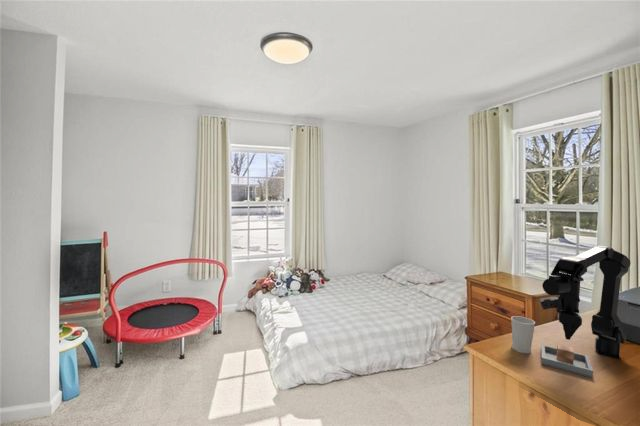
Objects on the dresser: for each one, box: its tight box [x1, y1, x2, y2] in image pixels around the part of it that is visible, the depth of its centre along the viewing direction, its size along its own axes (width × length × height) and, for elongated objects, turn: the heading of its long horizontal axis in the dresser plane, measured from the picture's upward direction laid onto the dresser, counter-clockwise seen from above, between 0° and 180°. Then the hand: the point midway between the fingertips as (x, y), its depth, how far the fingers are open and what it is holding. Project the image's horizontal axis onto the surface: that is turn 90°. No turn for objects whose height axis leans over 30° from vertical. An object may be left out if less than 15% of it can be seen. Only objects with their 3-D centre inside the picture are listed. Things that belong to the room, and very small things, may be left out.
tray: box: [540, 343, 594, 379], centre depth 112 cm, size 14×13×2 cm
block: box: [556, 343, 575, 364], centre depth 112 cm, size 4×4×5 cm
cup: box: [510, 315, 536, 354], centre depth 122 cm, size 8×8×12 cm
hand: (566, 334), depth 112 cm, fingers open, 9 cm apart
